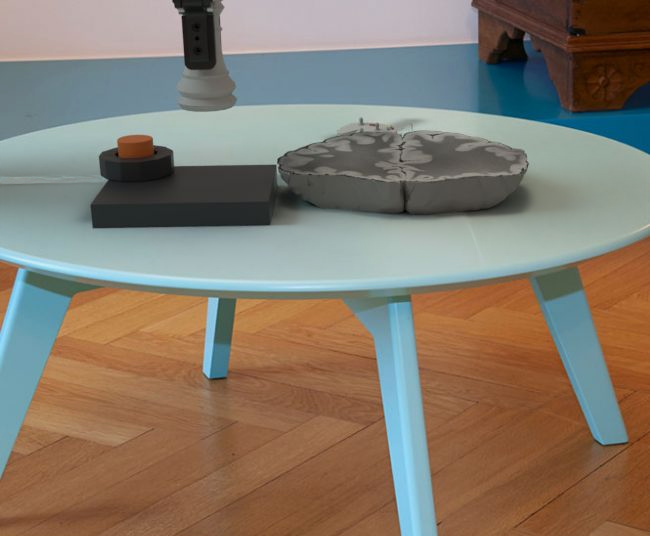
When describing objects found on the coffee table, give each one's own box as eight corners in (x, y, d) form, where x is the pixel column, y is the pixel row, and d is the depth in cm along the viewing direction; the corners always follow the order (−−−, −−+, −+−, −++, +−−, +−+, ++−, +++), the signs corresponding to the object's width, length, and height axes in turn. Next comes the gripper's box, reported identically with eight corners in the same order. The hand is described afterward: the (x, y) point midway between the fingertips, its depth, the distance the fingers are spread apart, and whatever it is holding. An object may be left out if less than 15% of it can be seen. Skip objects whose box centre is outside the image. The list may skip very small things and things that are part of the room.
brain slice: (514, 163, 99) (516, 129, 97) (535, 220, 83) (537, 180, 82) (290, 164, 100) (289, 131, 99) (268, 220, 84) (267, 181, 83)
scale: (81, 229, 83) (76, 183, 82) (111, 187, 94) (107, 145, 93) (270, 226, 83) (268, 179, 81) (277, 184, 94) (276, 142, 92)
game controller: (330, 154, 103) (329, 125, 102) (356, 128, 113) (356, 102, 112) (391, 156, 102) (391, 127, 101) (412, 129, 112) (412, 103, 111)
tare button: (115, 162, 89) (114, 142, 88) (122, 153, 91) (120, 134, 91) (151, 161, 89) (149, 142, 88) (156, 153, 91) (155, 134, 91)
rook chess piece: (205, 115, 80) (198, -2, 77) (164, 107, 83) (155, -6, 80) (250, 105, 83) (245, -8, 80) (209, 98, 86) (203, -11, 83)
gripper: (148, -192, 82) (165, 50, 88) (112, -203, 69) (136, 82, 75) (251, -195, 82) (261, 48, 88) (235, -206, 69) (248, 80, 75)
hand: (203, 63), depth 82 cm, fingers closed on rook chess piece, 3 cm apart
